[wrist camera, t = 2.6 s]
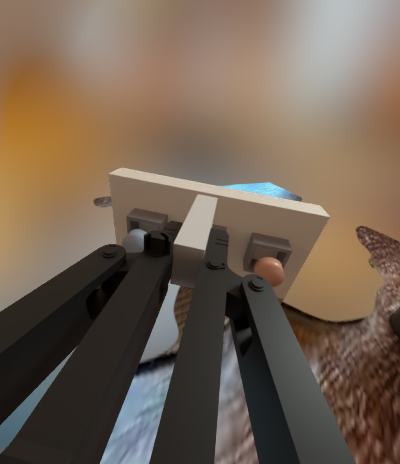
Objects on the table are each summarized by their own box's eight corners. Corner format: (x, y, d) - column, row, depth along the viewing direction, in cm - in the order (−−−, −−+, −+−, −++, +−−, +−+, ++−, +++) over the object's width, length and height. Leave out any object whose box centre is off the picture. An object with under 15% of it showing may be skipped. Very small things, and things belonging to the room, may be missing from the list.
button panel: (135, 245, 48) (131, 162, 37) (274, 276, 46) (312, 196, 35) (111, 277, 39) (96, 179, 28) (283, 317, 37) (338, 227, 26)
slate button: (128, 247, 32) (127, 226, 30) (152, 252, 32) (152, 232, 30) (122, 254, 30) (120, 233, 28) (147, 260, 30) (147, 239, 28)
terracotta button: (250, 274, 31) (258, 254, 28) (276, 280, 30) (286, 260, 28) (251, 283, 29) (259, 263, 27) (278, 289, 29) (289, 270, 26)
